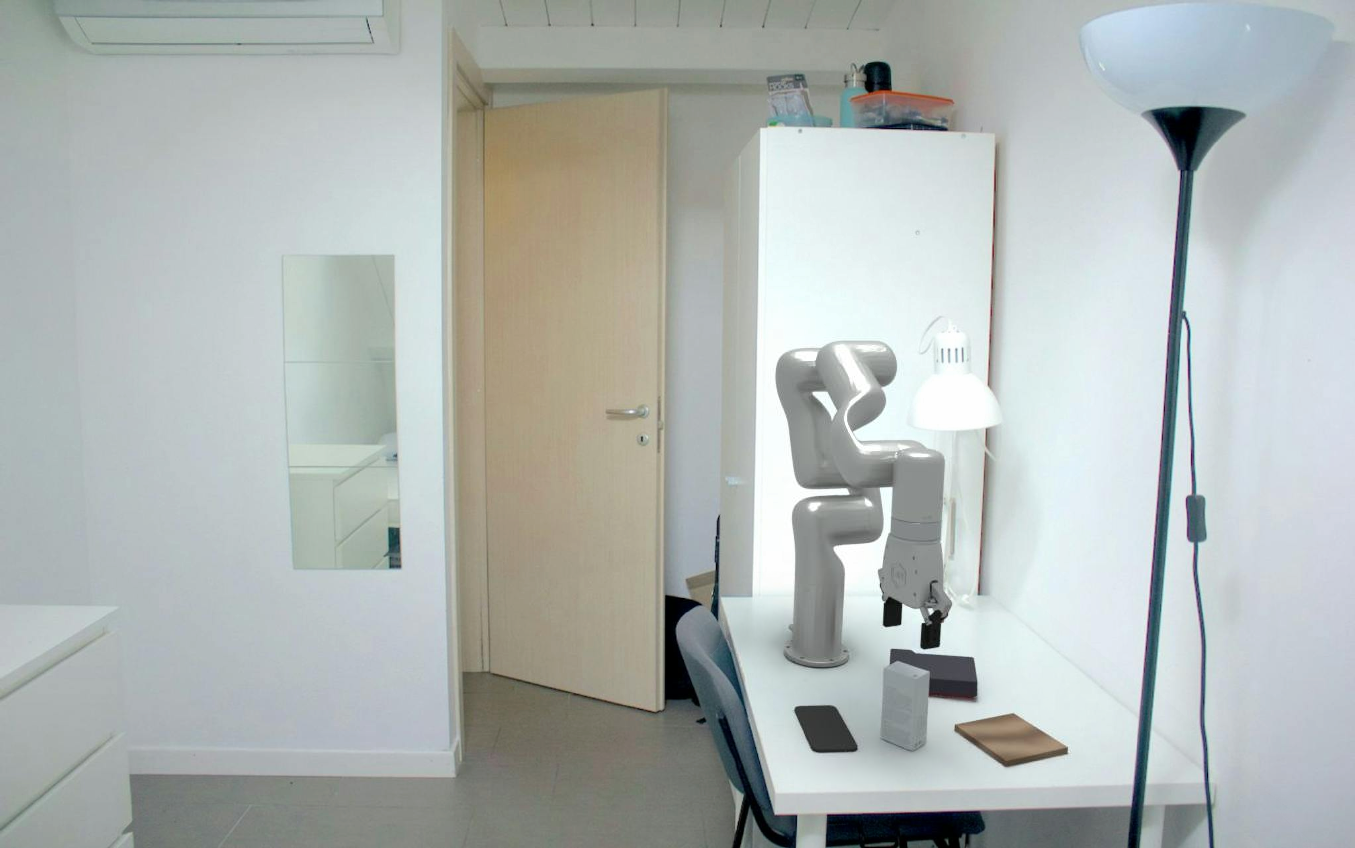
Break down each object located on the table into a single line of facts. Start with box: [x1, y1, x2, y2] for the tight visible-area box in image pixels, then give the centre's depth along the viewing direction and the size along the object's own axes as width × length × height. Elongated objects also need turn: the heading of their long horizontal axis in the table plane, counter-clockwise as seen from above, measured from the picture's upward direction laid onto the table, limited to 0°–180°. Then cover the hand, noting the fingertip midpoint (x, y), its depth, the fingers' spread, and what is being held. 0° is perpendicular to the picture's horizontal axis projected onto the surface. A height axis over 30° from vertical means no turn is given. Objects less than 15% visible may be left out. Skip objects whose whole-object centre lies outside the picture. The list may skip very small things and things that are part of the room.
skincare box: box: [880, 661, 930, 752], centre depth 142 cm, size 6×4×12 cm
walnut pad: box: [953, 712, 1069, 768], centre depth 143 cm, size 12×12×1 cm
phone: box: [793, 704, 859, 754], centre depth 147 cm, size 7×1×15 cm
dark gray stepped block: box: [888, 648, 978, 700], centre depth 163 cm, size 11×4×15 cm
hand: (910, 636), depth 140 cm, fingers open, 9 cm apart
